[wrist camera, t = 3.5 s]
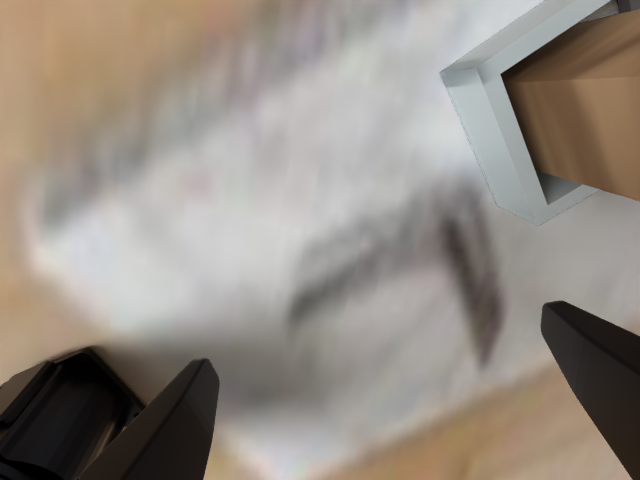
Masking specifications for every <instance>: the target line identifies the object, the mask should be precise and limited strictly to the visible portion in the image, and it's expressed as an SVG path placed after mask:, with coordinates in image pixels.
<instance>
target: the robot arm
mask: <svg viewBox="0 0 640 480" xmlns="http://www.w3.org/2000/svg"><path fill="white" fill-rule="evenodd" d="M541 332H542V335H543V337H544V339H545V341H546V343H547V345H548V347H549V349H550V350H551V352H552V354H553V356H554V358H555V360H556V362H557V363H558V365H559V367H560V369H561V371H562V373H563V374H564V376H565V378H566V380H567V382H568V384H569V385H570V387H571V389H572V391H573V392H574V394H575V396H576V397H577V399H578V400H579V402H580V403H581V405H582V406H583V408H584V409H585V411H586V412H587V414H588V415H589V416H590V418H591V419H592V421H593V422H594V424H595V425H596V427H597V428H598V430H599V431H600V433H601V434H602V436H603V437H604V438H605V440H606V441H607V443H608V444H609V446H610V447H611V449H612V450H613V452H614V453H615V455H616V456H617V457H618V459H619V460H620V462H621V463H622V465H623V466H624V468H625V469H626V471H627V472H628V474H629V475H630V477H631V478H632V479H633V480H640V336H638V335H636V334H634V333H632V332H630V331H627V330H625V329H623V328H621V327H619V326H617V325H614V324H612V323H610V322H608V321H606V320H604V319H601V318H599V317H597V316H595V315H593V314H591V313H589V312H586V311H584V310H582V309H580V308H578V307H576V306H573V305H571V304H569V303H567V302H565V301H554V302H548V303H545V304H544V305H543V308H542V318H541ZM83 356H85V357H87V358H85V357H83ZM218 392H219V378H218V375H217V373H216V371H215V370H214V368H213V366H212V364H211V362H210V360H209V359H207V358H201V359H195V360H192V361H191V362H190V363H189V364H188V365H187V366H186V367H185V368H184V369H183V370H182V371H181V372H180V373H179V374H178V375H177V376H176V377H175V378H174V379H173V380H172V381H171V382H170V383H169V384H168V385H167V386H166V387H165V388H164V389H163V390H162V391H161V393H160V394H159V395H158V396H157V397H156V398H155V399H154V400H153V401H152V402H151V403H150V404H149V405H148V406H147V407H145V406H144V405H143V404H142V403H141V402H140V401H139V400H138V398H137V397H136V396H135V395H134V394H133V393H132V392H131V391H130V390H129V389H128V388H127V387H126V386H125V385H124V384H123V382H122V381H121V380H120V379H119V378H118V377H117V376H116V375H115V374H114V373H113V372H112V371H111V370H110V369H109V367H108V366H107V365H106V364H105V363H104V362H103V361H102V360H101V359H100V358H99V357H98V356H97V355H96V354H95V353H94V352H93V351H92V350H90V349H86V348H84V349H81V350H78V351H76V352H74V353H71V354H69V355H67V356H64V357H62V358H60V359H58V360H55V361H53V360H52V361H45V362H43V363H41V364H39V365H36V366H34V367H32V368H29V369H27V370H25V371H23V372H20V373H18V374H16V375H14V376H12V378H11V379H10V380H9V381H7V382H5V383H3V384H2V385H1V386H0V480H203V478H204V474H205V470H206V465H207V461H208V457H209V452H210V448H211V443H212V438H213V431H214V424H215V416H216V408H217V400H218ZM124 427H126V428H125V429H124V430H123V428H124ZM122 430H123V431H122Z"/></svg>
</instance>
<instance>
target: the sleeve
mask: <svg viewBox="0 0 640 480" xmlns="http://www.w3.org/2000/svg"><path fill="white" fill-rule="evenodd" d="M609 1H611V0H545V1H544V2H542V3H541V4H539V5H538V6H536V7H535V8H533V9H532V10H530V11H529V12H527V13H526V14H525V15H523V16H522V17H520V18H519V19H517V20H516V21H514V22H513V23H511V24H510V25H508V26H507V27H506V28H504V29H503V30H501V31H500V32H498V33H497V34H495V35H494V36H492V37H491V38H489V39H488V40H486V41H485V42H484V43H482V44H481V45H479V46H478V47H476V48H475V49H473V50H472V51H470V52H469V53H467V54H466V55H465V56H463V57H462V58H460V59H459V60H457V61H456V62H454V63H453V64H451V65H450V66H448V67H447V68H446V69H444V70H443V71H441V72H440V75H441V77H442V79H443V82H444V84H445V86H446V89H447V91H448V93H449V96H450V98H451V100H452V102H453V105H454V107H455V109H456V112H457V114H458V116H459V119H460V121H461V123H462V125H463V128H464V130H465V132H466V135H467V137H468V139H469V141H470V144H471V146H472V148H473V151H474V153H475V155H476V158H477V160H478V162H479V164H480V167H481V169H482V171H483V174H484V176H485V178H486V181H487V183H488V185H489V187H490V190H491V192H492V194H493V197H494V199H495V201H496V204H497V206H498V207H500V208H502V209H504V210H506V211H508V212H510V213H512V214H514V215H516V216H518V217H520V218H522V219H524V220H526V221H528V222H530V223H532V224H534V225H536V226H540V225H541V224H543V223H545V222H546V221H548V220H550V219H551V218H553V217H555V216H556V215H558V214H560V213H562V212H563V211H565V210H567V209H568V208H570V207H572V206H573V205H575V204H577V203H578V202H580V201H582V200H583V199H585V198H587V197H588V196H590V195H592V194H594V193H595V192H597V191H599V190H600V189H597V188H594V187H590V186H587V185H583V184H580V183H577V182H573V181H570V180H566V179H563V178H560V177H556V176H553V175H550V174H546V173H543V172H539V171H536V170H535V169H534V166H533V163H532V161H531V158H530V155H529V152H528V150H527V147H526V144H525V141H524V139H523V136H522V133H521V130H520V128H519V125H518V122H517V119H516V117H515V114H514V111H513V108H512V106H511V103H510V100H509V97H508V94H507V92H506V89H505V86H504V83H503V81H502V78H501V75H500V74H501V73H503V72H504V71H506V70H507V69H509V68H510V67H512V66H513V65H515V64H516V63H518V62H519V61H521V60H522V59H524V58H525V57H527V56H528V55H530V54H531V53H533V52H534V51H536V50H537V49H539V48H540V47H542V46H543V45H545V44H546V43H548V42H549V41H551V40H552V39H554V38H555V37H557V36H558V35H560V34H561V33H563V32H564V31H566V30H567V29H569V28H570V27H572V26H573V25H575V24H576V23H578V22H579V21H581V20H582V19H584V18H585V17H587V16H588V15H590V14H591V13H593V12H594V11H596V10H597V9H599V8H600V7H602V6H603V5H605V4H606V3H608V2H609ZM617 1H618V6H619V11H620V14H621V13H625V12H630V11H634V10H638V9H640V0H617Z"/></svg>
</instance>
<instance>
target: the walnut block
mask: <svg viewBox="0 0 640 480" xmlns="http://www.w3.org/2000/svg"><path fill="white" fill-rule="evenodd" d="M500 75H501V78H502V81H503V83H504V86H505V89H506V92H507V94H508V97H509V100H510V103H511V106H512V108H513V111H514V114H515V117H516V119H517V122H518V125H519V128H520V130H521V133H522V136H523V139H524V141H525V144H526V147H527V150H528V152H529V155H530V158H531V161H532V163H533V166H534V169H535V170H536V171H539V172H543V173H546V174H550V175H553V176H556V177H560V178H563V179H566V180H570V181H573V182H577V183H580V184H583V185H587V186H590V187H594V188H597V189H600V190H604V191H607V192H610V193H614V194H617V195H621V196H624V197H627V198H631V199H634V200H638V201H640V9H638V10H634V11H630V12H625V13H621V14H617V15H613V16H608V17H604V18H600V19H596V20H591V21H587V22H583V23H579V24H575V25H573V26H572V27H570V28H569V29H567V30H566V31H564V32H563V33H561V34H560V35H558V36H557V37H555V38H554V39H552V40H551V41H549V42H548V43H546V44H545V45H543V46H542V47H540V48H539V49H537V50H536V51H534V52H533V53H531V54H530V55H528V56H527V57H525V58H524V59H522V60H521V61H519V62H518V63H516V64H515V65H513V66H512V67H510V68H509V69H507V70H506V71H504V72H503V73H501V74H500Z"/></svg>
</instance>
